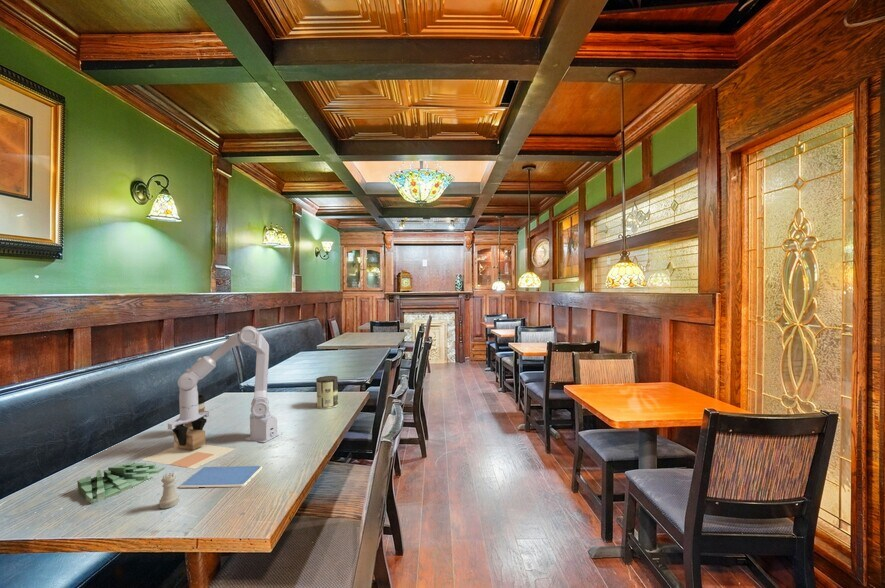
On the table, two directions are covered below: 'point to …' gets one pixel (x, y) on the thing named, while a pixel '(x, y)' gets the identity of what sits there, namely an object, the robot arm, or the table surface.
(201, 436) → the two tone block
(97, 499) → the money
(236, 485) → the tablet computer
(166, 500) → the rook chess piece
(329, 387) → the coffee can
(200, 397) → the coffee cup
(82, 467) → the table surface
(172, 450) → the mat
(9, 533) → the table surface
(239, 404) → the table surface
